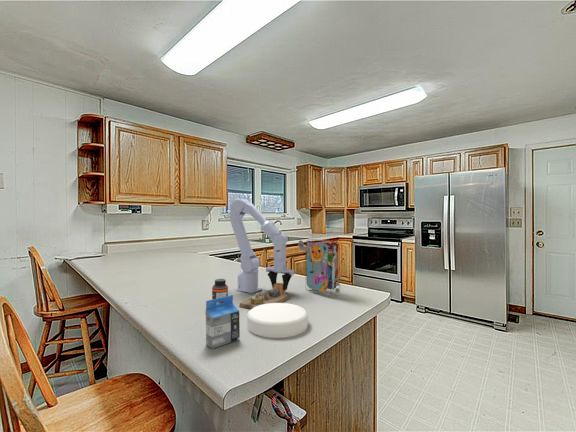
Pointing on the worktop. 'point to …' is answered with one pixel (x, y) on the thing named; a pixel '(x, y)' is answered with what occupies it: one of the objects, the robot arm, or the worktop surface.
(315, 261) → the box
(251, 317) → the container
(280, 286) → the idler gear
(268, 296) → the gear board
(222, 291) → the supplement bottle
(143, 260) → the worktop surface
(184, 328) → the worktop surface
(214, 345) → the label tape box
